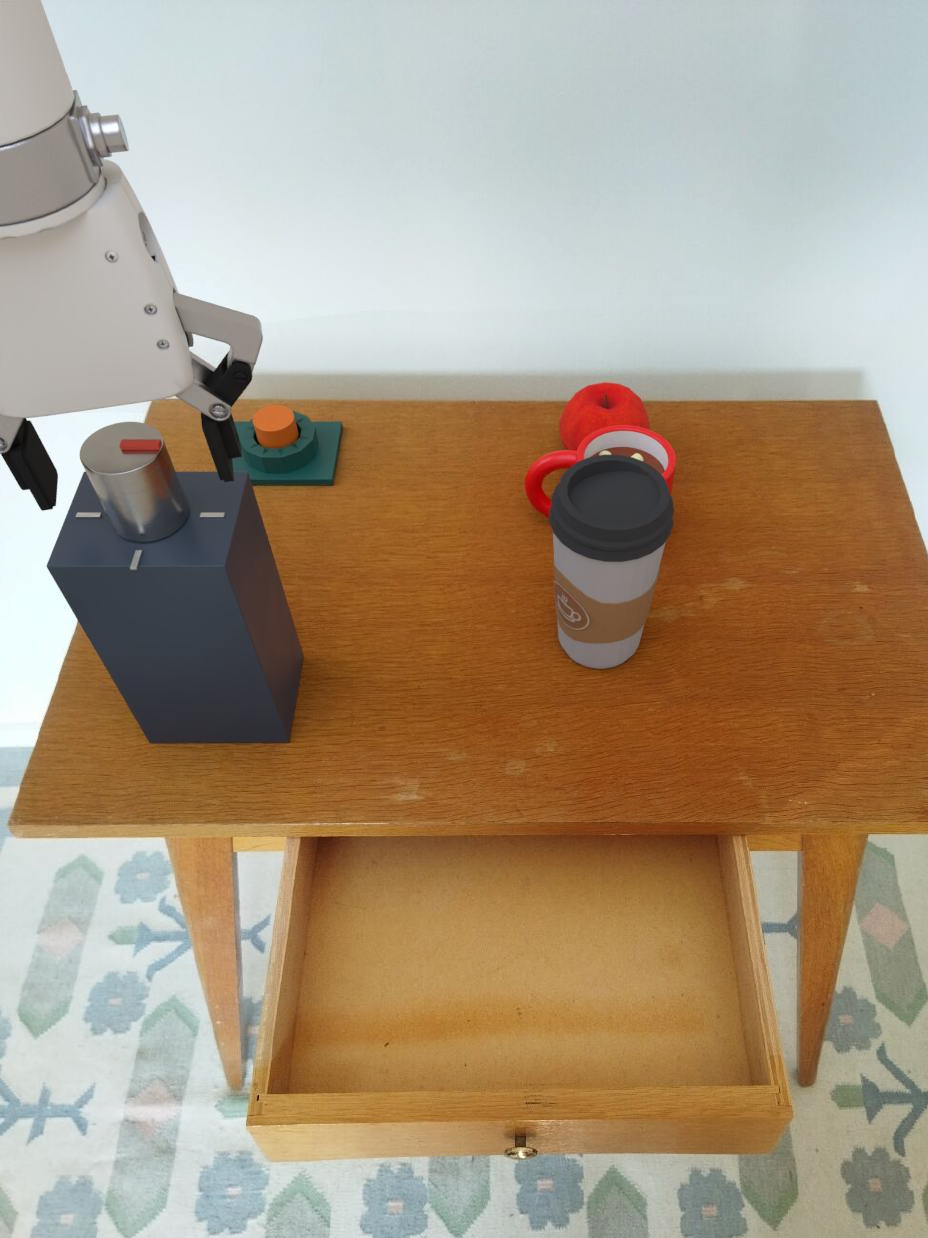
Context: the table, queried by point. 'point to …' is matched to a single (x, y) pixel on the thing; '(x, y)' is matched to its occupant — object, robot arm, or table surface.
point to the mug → (603, 442)
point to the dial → (135, 481)
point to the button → (275, 426)
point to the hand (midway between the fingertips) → (139, 479)
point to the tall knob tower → (187, 615)
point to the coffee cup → (607, 555)
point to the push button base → (291, 454)
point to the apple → (600, 412)
